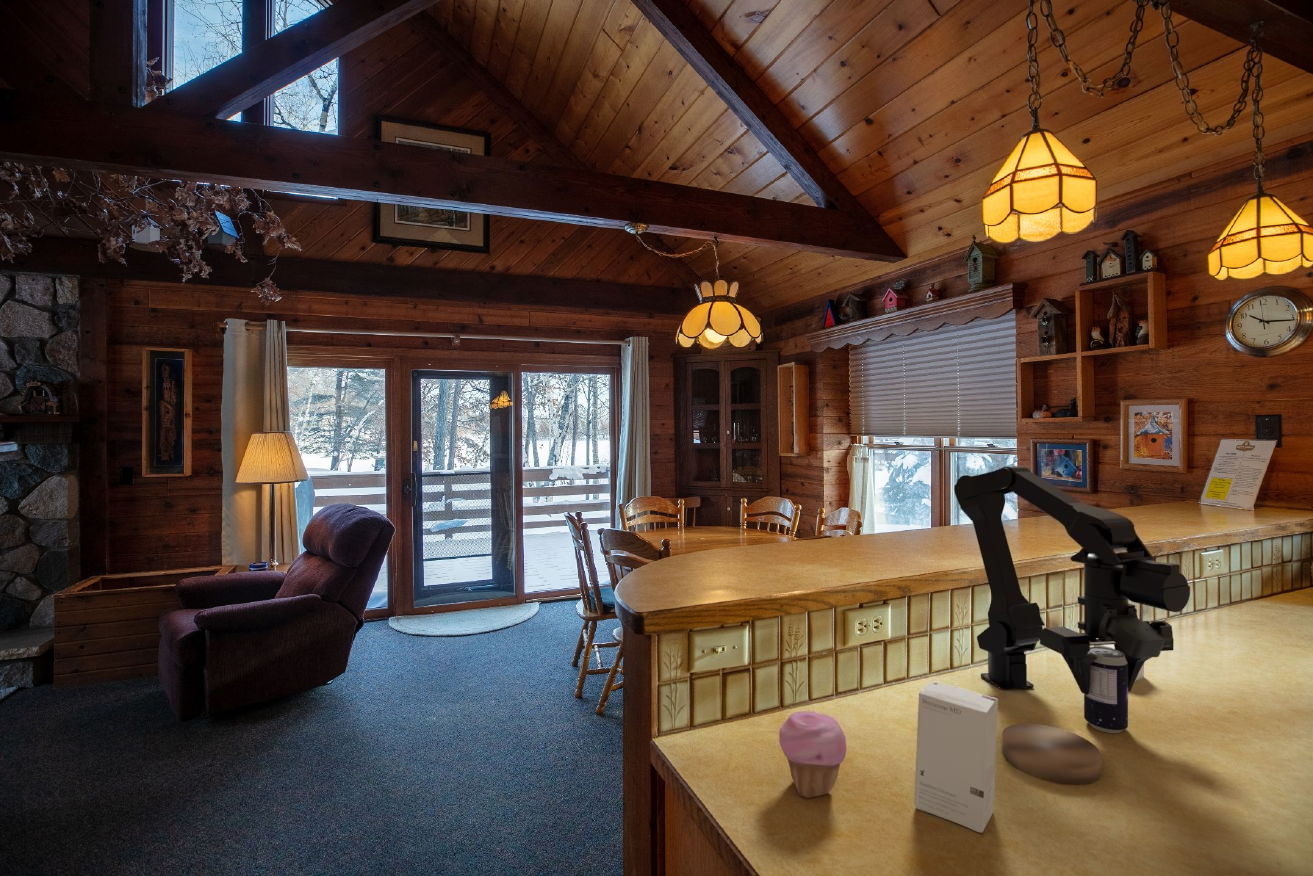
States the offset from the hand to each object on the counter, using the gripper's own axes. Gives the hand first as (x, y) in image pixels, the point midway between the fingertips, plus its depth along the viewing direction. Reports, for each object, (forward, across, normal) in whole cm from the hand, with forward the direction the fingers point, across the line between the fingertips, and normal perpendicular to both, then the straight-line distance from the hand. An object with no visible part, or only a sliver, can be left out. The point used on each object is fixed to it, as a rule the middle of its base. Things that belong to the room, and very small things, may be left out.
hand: (1105, 692), depth 100 cm
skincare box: (+6, -36, -17) cm, 40 cm away
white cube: (+6, +19, +18) cm, 27 cm away
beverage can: (+6, 0, 0) cm, 6 cm away
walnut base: (+6, -16, -8) cm, 19 cm away
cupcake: (+6, -52, -10) cm, 53 cm away
